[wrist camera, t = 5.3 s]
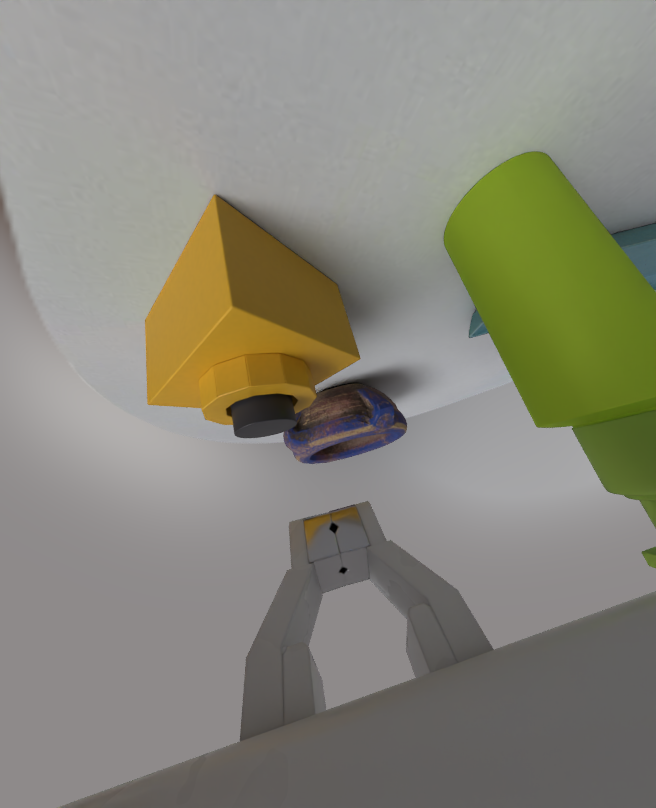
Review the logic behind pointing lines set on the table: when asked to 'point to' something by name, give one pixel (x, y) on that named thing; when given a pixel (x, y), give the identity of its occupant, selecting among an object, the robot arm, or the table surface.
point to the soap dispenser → (564, 316)
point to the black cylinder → (263, 415)
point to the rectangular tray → (644, 246)
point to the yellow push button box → (242, 321)
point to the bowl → (344, 424)
